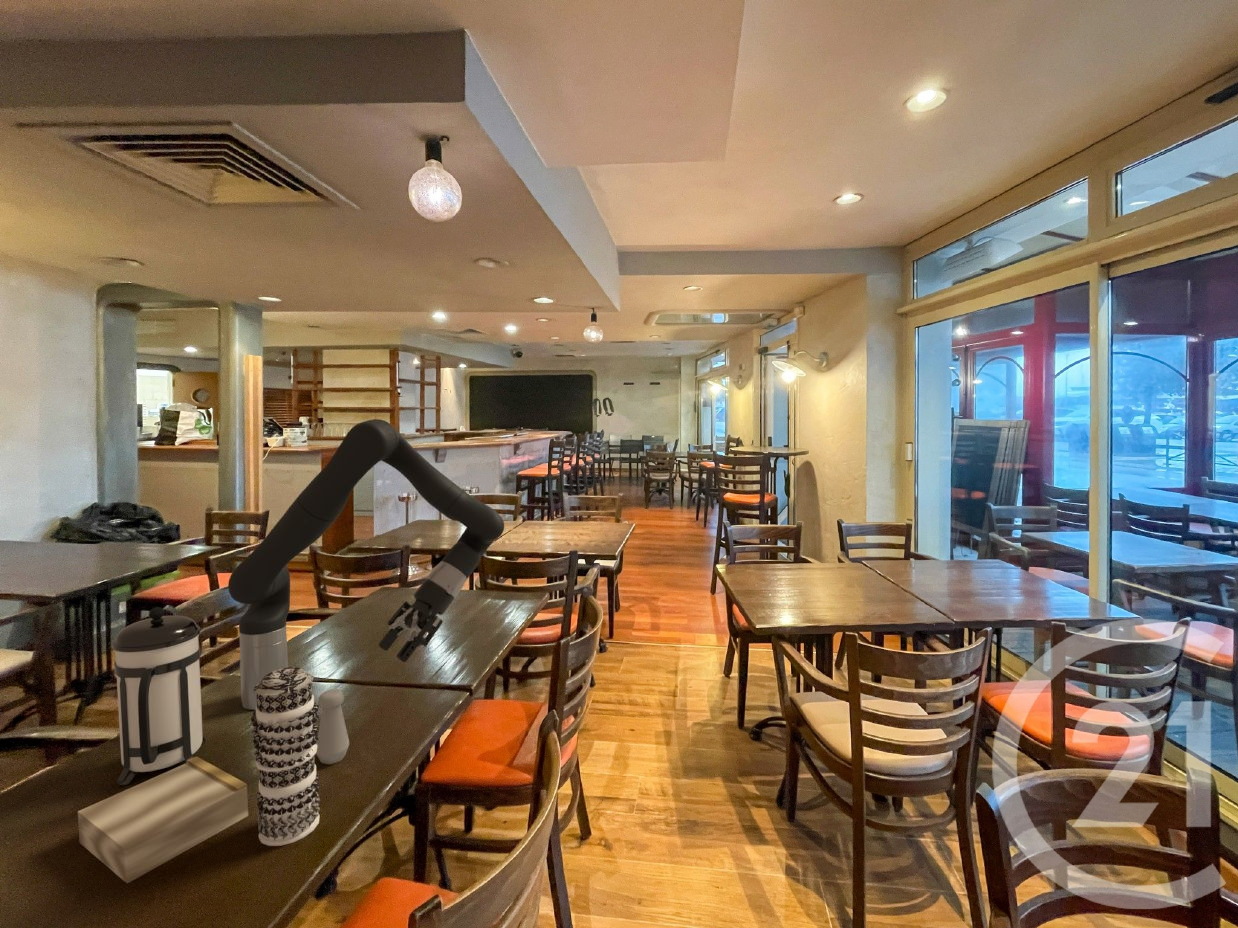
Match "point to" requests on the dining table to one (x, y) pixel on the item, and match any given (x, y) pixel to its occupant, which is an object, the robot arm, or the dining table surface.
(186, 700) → the coffee press
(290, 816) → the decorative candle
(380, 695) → the dining table surface
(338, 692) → the salt shaker
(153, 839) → the wood block
